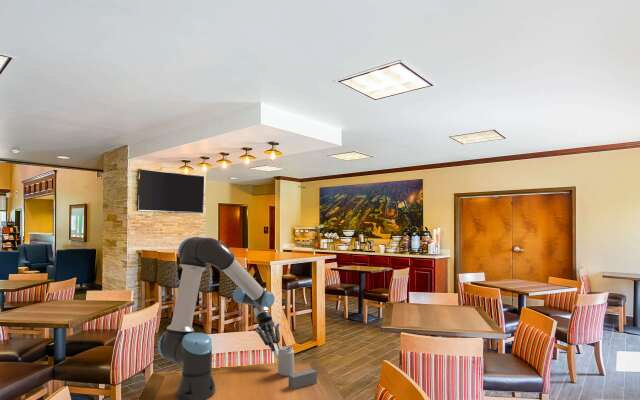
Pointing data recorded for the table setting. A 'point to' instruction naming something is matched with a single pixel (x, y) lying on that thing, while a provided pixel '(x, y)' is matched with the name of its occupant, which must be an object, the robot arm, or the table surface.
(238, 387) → the table surface
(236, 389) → the table surface
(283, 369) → the can
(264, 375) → the table surface
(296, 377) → the block
